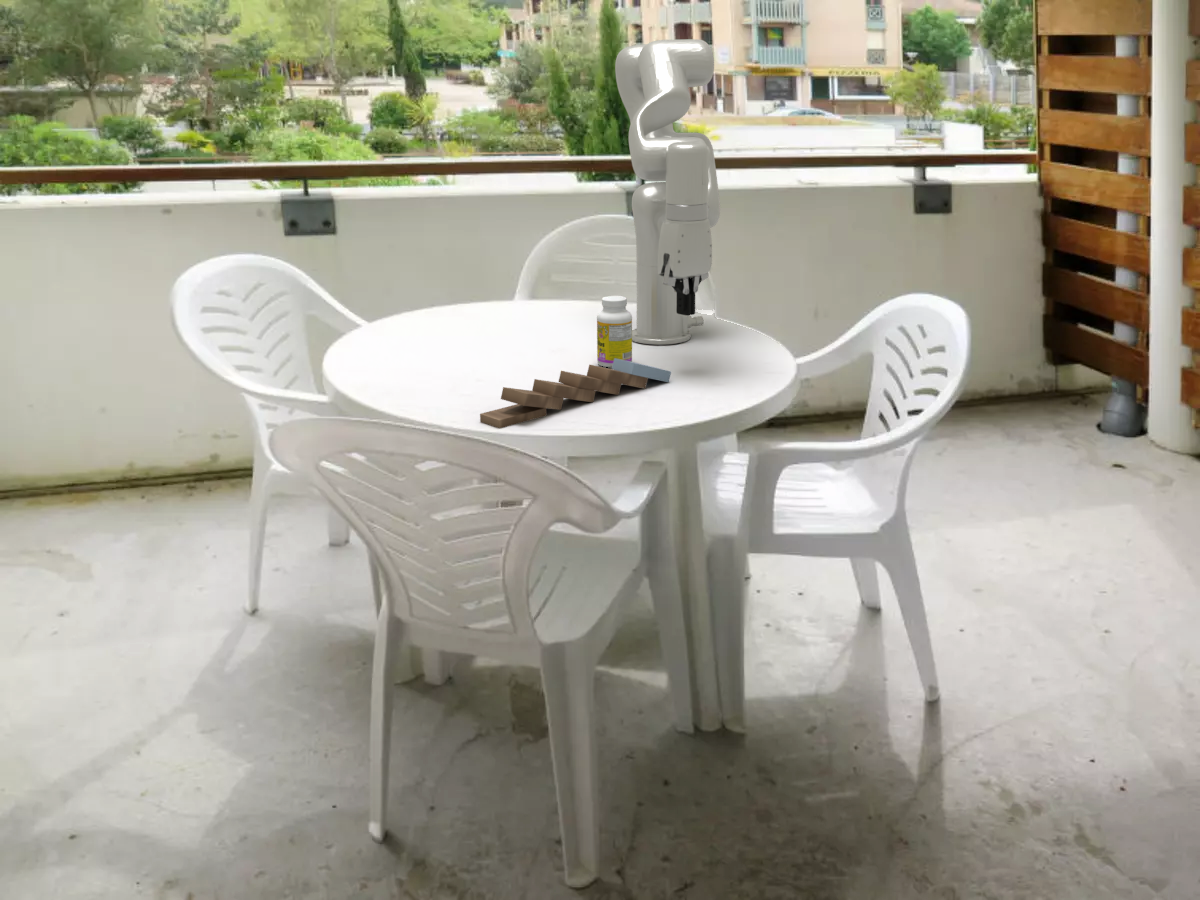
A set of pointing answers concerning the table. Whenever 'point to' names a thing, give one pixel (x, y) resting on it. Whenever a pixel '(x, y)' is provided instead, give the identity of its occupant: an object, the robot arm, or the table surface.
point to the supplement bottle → (614, 331)
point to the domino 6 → (641, 370)
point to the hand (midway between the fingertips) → (685, 313)
